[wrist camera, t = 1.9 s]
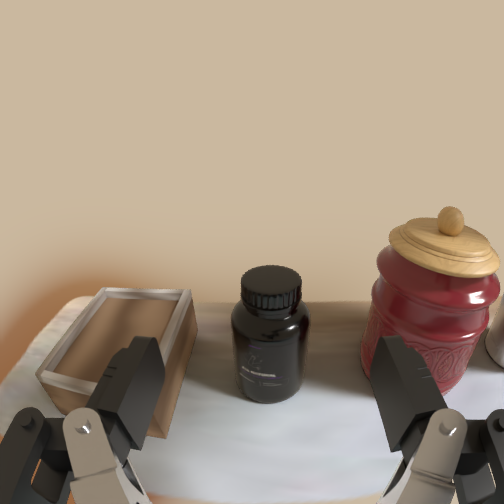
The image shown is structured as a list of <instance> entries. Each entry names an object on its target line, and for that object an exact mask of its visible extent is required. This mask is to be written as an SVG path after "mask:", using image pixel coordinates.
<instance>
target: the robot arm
mask: <svg viewBox="0 0 504 504" xmlns="http://www.w3.org/2000/svg"><path fill="white" fill-rule="evenodd" d="M485 344H486V348H487V351H488V353H489V354H490V356H491V357H492V358H493V360H494V361H495V362H496V363H498V364H499V365H500V366H502V367H503V368H504V294H503V297H502V300H501V302H500V305H499V308H498V310H497V313H496V315H495V317H494V320H493V322H492V325H491V327H490V329H489V332H488V334H487V336H486V340H485ZM164 381H165V365H164V362H163V359H162V355H161V352H160V349H159V345H158V342H157V339H156V338H155V337H147V336H135V337H134V338H133V339H132V341H131V343H130V345H129V347H128V348H122V349H120V350H119V351H118V352H117V353H116V354H115V355H113V356H112V358H111V360H110V362H109V363H108V365H107V368H106V369H105V371H104V372H103V376H101V378H100V380H99V381H98V383H97V385H96V387H95V389H94V391H93V393H92V394H91V396H90V398H89V400H88V402H87V404H86V406H85V407H84V408H78V409H75V410H73V411H71V412H70V413H69V414H68V415H67V416H66V417H65V418H45V417H44V416H43V414H42V413H41V412H40V411H39V410H38V409H36V408H33V407H29V408H25V409H22V410H21V411H19V412H18V413H17V414H16V416H15V417H14V419H13V421H12V423H11V424H10V426H9V428H8V430H7V432H6V434H5V436H4V438H3V440H2V442H1V444H0V504H67V500H68V497H69V494H70V491H72V495H73V498H74V501H75V504H152V502H151V501H150V499H149V498H148V496H147V494H146V492H145V490H144V488H143V487H142V485H141V483H140V481H139V478H138V476H137V474H136V472H135V470H134V468H133V466H132V464H131V461H130V459H129V457H128V454H129V451H130V448H131V449H136V450H140V451H141V449H142V446H143V443H144V440H145V437H146V434H147V431H148V428H149V425H150V422H151V419H152V416H153V413H154V410H155V407H156V404H157V401H158V398H159V395H160V393H161V390H162V387H163V384H164ZM370 382H371V385H372V388H373V392H374V395H375V398H376V401H377V405H378V408H379V411H380V415H381V418H382V422H383V425H384V429H385V432H386V436H387V440H388V443H389V447H390V451H391V452H395V451H400V450H401V451H402V454H403V457H402V459H401V460H400V462H399V464H398V466H397V468H396V470H395V472H394V474H393V476H392V478H391V479H390V481H389V483H388V485H387V487H386V488H385V490H384V492H383V494H382V495H381V497H380V499H379V500H378V501H377V503H376V504H450V503H451V501H452V498H453V496H454V493H455V489H456V493H457V497H458V501H459V504H504V409H498V410H495V411H493V412H492V413H491V414H490V415H489V416H488V418H487V419H486V420H466V419H465V418H464V416H463V415H462V414H461V413H459V412H458V411H456V410H453V409H448V407H447V405H446V403H445V401H444V398H443V396H442V394H441V392H440V390H439V388H438V386H437V384H436V382H435V380H434V378H433V377H432V374H431V372H430V370H429V368H427V364H426V362H425V360H424V359H423V357H422V355H421V354H419V353H418V352H417V351H416V350H415V349H414V348H413V347H410V348H407V347H406V345H405V343H404V341H403V339H402V337H401V336H400V335H394V336H384V337H380V338H379V339H378V342H377V346H376V349H375V353H374V356H373V359H372V363H371V366H370ZM39 459H41V462H40V465H39V467H38V470H37V472H36V475H35V477H34V480H33V483H32V485H31V478H32V476H33V473H34V471H35V469H36V466H37V464H38V461H39ZM488 463H489V464H490V467H491V470H492V474H493V477H494V480H495V484H496V489H495V485H494V482H493V478H492V475H491V472H490V469H489V466H488ZM452 479H453V480H454V483H452Z"/></svg>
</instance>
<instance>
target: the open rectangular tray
mask: <svg viewBox="0 0 504 504" xmlns="http://www.w3.org/2000/svg"><path fill="white" fill-rule="evenodd" d="M197 331H198V328H197V323H196V317H195V312H194V306H193V300H192V294H191V290H182V289H181V290H180V289H178V290H177V289H175V290H174V289H134V288H105V287H103V288H102V289H101V290H100V291H99V292H98V293H97V294H96V296H95V297H94V298H93V299H92V300H91V302H90V303H89V304H88V305H87V306H86V308H85V309H84V310H83V311H82V312H81V314H80V315H79V316H78V317H77V319H76V320H75V321H74V322H73V324H72V325H71V326H70V327H69V329H68V330H67V331H66V333H65V334H64V335H63V336H62V338H61V339H60V340H59V342H58V343H57V344H56V346H55V347H54V348H53V350H52V351H51V352H50V354H49V355H48V356H47V358H46V359H45V360H44V362H43V363H42V365H41V366H40V367H39V369H38V370H37V372H36V373H35V375H36V376H37V378H38V380H39V381H40V383H41V384H42V386H43V387H44V389H45V390H46V392H47V393H48V395H49V396H50V398H51V399H52V401H53V402H54V404H55V405H56V406H57V408H58V409H59V410H60V412H61V413H62V414H65V415H68V414H69V413H70V412H71V411H73V410H75V409H78V408H84V407H85V406H86V404H87V402H88V400H89V398H90V396H91V394H92V393H93V391H94V389H95V387H96V385H97V383H98V381H99V380H100V378H101V376H103V372H104V371H105V369H106V368H107V365H108V363H109V362H110V360H111V358H112V356H113V355H115V354H116V353H117V352H118V351H119V350H120V349H122V348H128V347H129V345H130V343H131V341H132V339H133V338H134V337H135V336H147V337H155V338H156V339H157V342H158V345H159V349H160V352H161V355H162V359H163V362H164V365H165V381H164V384H163V387H162V390H161V393H160V395H159V398H158V401H157V404H156V407H155V410H154V413H153V416H152V419H151V422H150V425H149V428H148V431H147V434H146V435H147V436H152V437H158V438H164V439H166V437H167V434H168V430H169V427H170V423H171V420H172V416H173V412H174V409H175V405H176V402H177V398H178V395H179V392H180V388H181V385H182V381H183V378H184V375H185V371H186V368H187V364H188V361H189V358H190V354H191V351H192V348H193V345H194V341H195V338H196V335H197Z"/></svg>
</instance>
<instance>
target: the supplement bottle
mask: <svg viewBox="0 0 504 504" xmlns="http://www.w3.org/2000/svg"><path fill="white" fill-rule="evenodd" d="M301 285H302V280H301V276H299V274H298V273H297V272H296V271H294V270H293V269H290V268H287V267H284V266H278V265H266V266H260V267H256V268H252V269H251V270H248V271H247V272H245V274H244V275H243V277H242V278H241V300H240V301H239V302H238V303H237V304H236V306H235V307H234V309H233V311H232V314H231V331H232V343H233V355H234V366H235V375H236V382H237V385H238V387H239V389H240V390H241V391H242V392H243V394H245V395H246V396H247V397H249V398H251V399H253V400H255V401H258V402H263V403H276V402H281V401H284V400H287V399H288V398H290V397H292V396H293V395H294V394H296V393H297V392H298V390H299V389H300V387H301V385H302V383H303V378H304V372H305V365H306V358H307V350H308V342H309V334H310V325H311V316H310V312H309V310H308V308H307V306H306V305H305V303H304V302H303V301H302V300H301V298H302V292H301V287H302V286H301Z"/></svg>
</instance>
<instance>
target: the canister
mask: <svg viewBox="0 0 504 504" xmlns="http://www.w3.org/2000/svg"><path fill="white" fill-rule="evenodd" d="M389 242H390V244H391V245H389V246H387V247H385V248H384V249H383V250H381V252H380V253H379V254H378V257H377V267H378V270H379V272H380V277H379V278H378V279H377V280H376V281H375V283H374V285H373V287H372V293H371V296H372V302H371V307H370V312H369V317H368V321H367V326H366V329H365V331H364V333H363V336H362V341H361V347H360V352H361V364H362V368H363V370H364V372H365V374H366V376H367V377H368V379H369V380H370V366H371V363H372V359H373V356H374V353H375V349H376V346H377V342H378V339H379V338H380V337H384V336H394V335H400V336H401V337H402V339H403V341H404V343H405V345H406V347H407V348H410V347H413V348H414V349H415V350H416V351H417V352H418V353H419V354H421V355H422V357H423V359H424V360H425V362H426V364H427V368H429V370H430V372H431V374H432V377H433V378H434V380H435V382H436V384H437V386H438V388H439V390H440V392H441V394H442V396H444V395H445V394H447V393H448V392H449V391H450V390H451V389H452V388H453V387H454V386H455V385H456V384H457V383H458V382H459V380H460V379H461V378H462V376H463V374H464V372H465V370H466V368H467V365H468V361H469V359H470V357H471V355H472V353H473V351H474V349H475V347H476V345H477V343H478V341H479V338H480V336H481V334H482V332H483V331H484V330H485V329H486V327H487V325H488V321H489V310H488V309H489V305H491V304H492V303H493V302H494V301H495V300H496V299H497V298H498V296H499V292H500V283H499V280H498V277H497V275H496V274H495V272H496V271H497V270H498V268H499V266H500V259H499V257H498V254H497V253H496V252H495V250H494V249H493V248H492V247H491V246H490V243H489V241H488V240H487V239H486V237H484V236H483V235H482V234H480V233H479V232H478V231H476V230H474V229H472V228H470V227H468V226H465V225H464V217H463V215H462V213H461V211H460V210H459V209H457V208H455V207H450V206H449V207H445V208H443V209H442V210H441V211H440V213H439V215H438V218H416V219H412V220H410V221H408V222H407V223H406V224H404V225H401V226H398V227H396V228H394V229H393V230H392V231H391V232H390V234H389Z"/></svg>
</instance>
